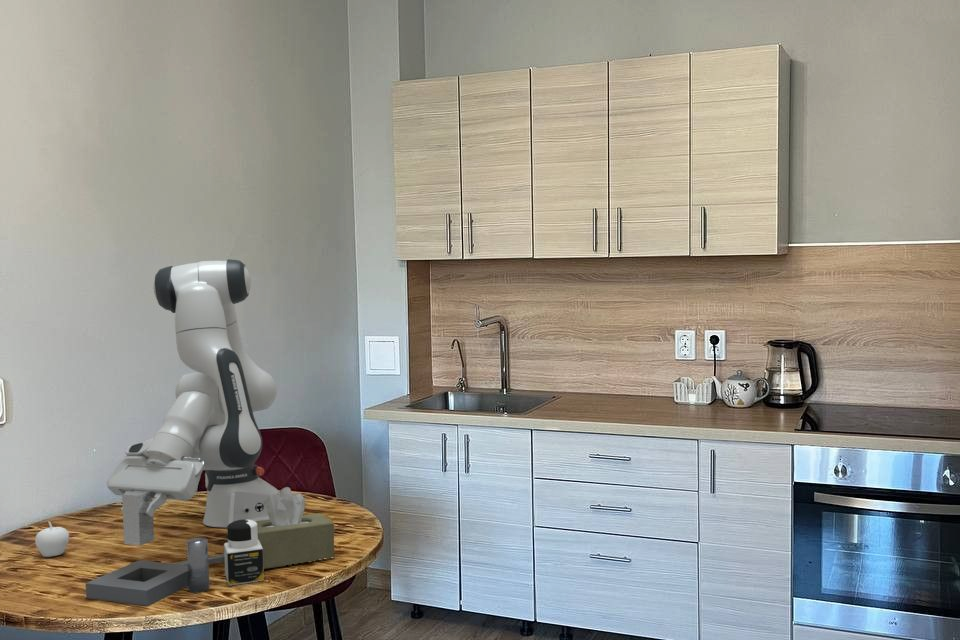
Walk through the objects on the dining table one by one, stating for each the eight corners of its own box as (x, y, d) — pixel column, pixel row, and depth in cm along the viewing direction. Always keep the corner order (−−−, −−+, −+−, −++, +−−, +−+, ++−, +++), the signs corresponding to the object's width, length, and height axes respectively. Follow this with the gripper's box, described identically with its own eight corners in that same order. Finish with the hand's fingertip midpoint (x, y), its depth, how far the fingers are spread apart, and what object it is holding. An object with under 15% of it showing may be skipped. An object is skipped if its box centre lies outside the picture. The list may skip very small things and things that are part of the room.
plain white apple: (28, 558, 206) (26, 523, 206) (53, 549, 213) (51, 515, 213) (52, 561, 204) (50, 525, 204) (76, 551, 211) (74, 517, 210)
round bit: (207, 584, 185) (205, 536, 184) (211, 590, 181) (209, 541, 181) (187, 588, 183) (185, 539, 183) (190, 594, 180) (188, 544, 179)
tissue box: (322, 547, 209) (321, 479, 208) (335, 558, 200) (335, 487, 199) (239, 559, 200) (238, 488, 199) (250, 571, 191) (249, 497, 191)
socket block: (139, 573, 193) (139, 560, 193) (197, 580, 188) (197, 566, 187) (86, 598, 179) (85, 583, 179) (147, 606, 174) (146, 590, 173)
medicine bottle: (228, 586, 184) (226, 528, 183) (225, 576, 190) (222, 519, 190) (264, 581, 186) (262, 523, 186) (259, 571, 193) (257, 515, 192)
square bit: (138, 538, 185) (136, 489, 184) (154, 540, 183) (152, 491, 183) (124, 543, 181) (122, 494, 181) (140, 545, 180) (138, 495, 179)
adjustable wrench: (150, 578, 192) (149, 570, 192) (146, 570, 198) (146, 562, 197) (268, 558, 203) (267, 550, 203) (261, 550, 208) (261, 543, 208)
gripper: (215, 467, 189) (186, 525, 180) (137, 462, 196) (105, 518, 187) (200, 449, 184) (169, 509, 176) (121, 445, 192) (88, 502, 183)
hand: (136, 513), depth 182 cm, fingers closed on square bit, 4 cm apart
